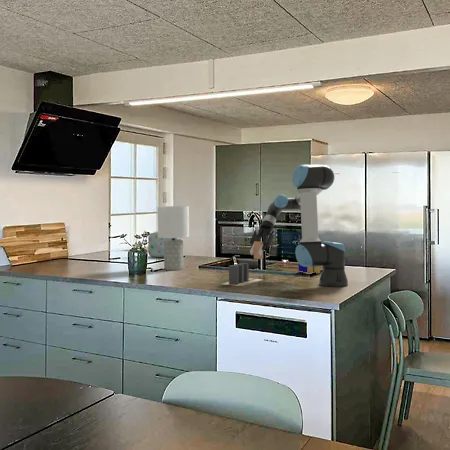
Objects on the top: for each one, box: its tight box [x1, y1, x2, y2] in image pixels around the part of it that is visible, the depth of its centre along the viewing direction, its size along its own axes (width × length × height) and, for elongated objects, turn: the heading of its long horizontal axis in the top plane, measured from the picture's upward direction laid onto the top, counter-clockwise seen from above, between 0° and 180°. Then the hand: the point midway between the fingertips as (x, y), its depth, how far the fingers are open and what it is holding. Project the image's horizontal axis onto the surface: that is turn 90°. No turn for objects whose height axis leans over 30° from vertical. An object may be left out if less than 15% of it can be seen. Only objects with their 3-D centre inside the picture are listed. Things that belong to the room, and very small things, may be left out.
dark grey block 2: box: [238, 262, 250, 282], centre depth 294 cm, size 2×5×10 cm, turn 58°
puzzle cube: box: [298, 263, 321, 275], centre depth 328 cm, size 10×10×10 cm
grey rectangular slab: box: [233, 263, 244, 283], centre depth 290 cm, size 2×5×10 cm, turn 58°
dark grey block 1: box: [228, 264, 239, 285], centre depth 285 cm, size 2×5×10 cm, turn 59°
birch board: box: [220, 278, 264, 287], centre depth 293 cm, size 14×25×1 cm, turn 149°
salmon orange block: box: [253, 241, 264, 260], centre depth 308 cm, size 2×5×10 cm, turn 58°
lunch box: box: [147, 231, 182, 259], centre depth 419 cm, size 27×10×21 cm, turn 74°
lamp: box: [156, 205, 190, 271], centre depth 349 cm, size 21×21×42 cm
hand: (255, 253), depth 305 cm, fingers closed on salmon orange block, 5 cm apart
